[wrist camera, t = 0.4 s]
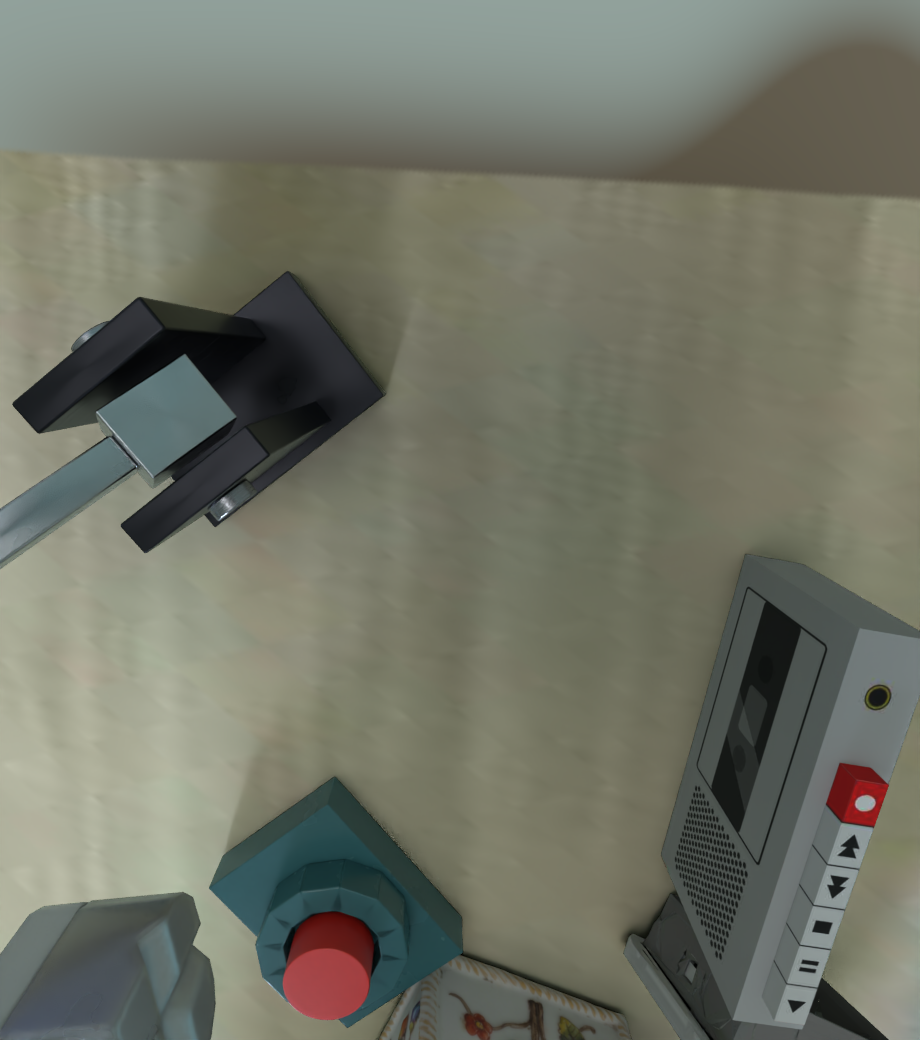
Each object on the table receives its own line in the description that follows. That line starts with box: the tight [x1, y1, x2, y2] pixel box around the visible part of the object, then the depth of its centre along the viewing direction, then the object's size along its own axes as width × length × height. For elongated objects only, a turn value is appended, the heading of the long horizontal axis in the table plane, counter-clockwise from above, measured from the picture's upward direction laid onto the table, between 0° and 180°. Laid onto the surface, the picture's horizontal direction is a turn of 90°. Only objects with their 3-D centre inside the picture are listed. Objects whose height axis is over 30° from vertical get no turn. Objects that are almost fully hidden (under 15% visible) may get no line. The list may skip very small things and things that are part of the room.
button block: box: [209, 777, 463, 1028], centre depth 33 cm, size 10×7×4 cm
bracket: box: [12, 271, 386, 553], centre depth 24 cm, size 9×6×12 cm, turn 127°
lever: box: [0, 354, 237, 569], centre depth 19 cm, size 11×6×2 cm, turn 129°
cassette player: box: [661, 554, 920, 1030], centre depth 29 cm, size 16×3×10 cm, turn 170°
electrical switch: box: [623, 893, 888, 1040], centre depth 32 cm, size 9×5×9 cm, turn 61°
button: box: [283, 912, 374, 1020], centre depth 31 cm, size 4×4×2 cm
